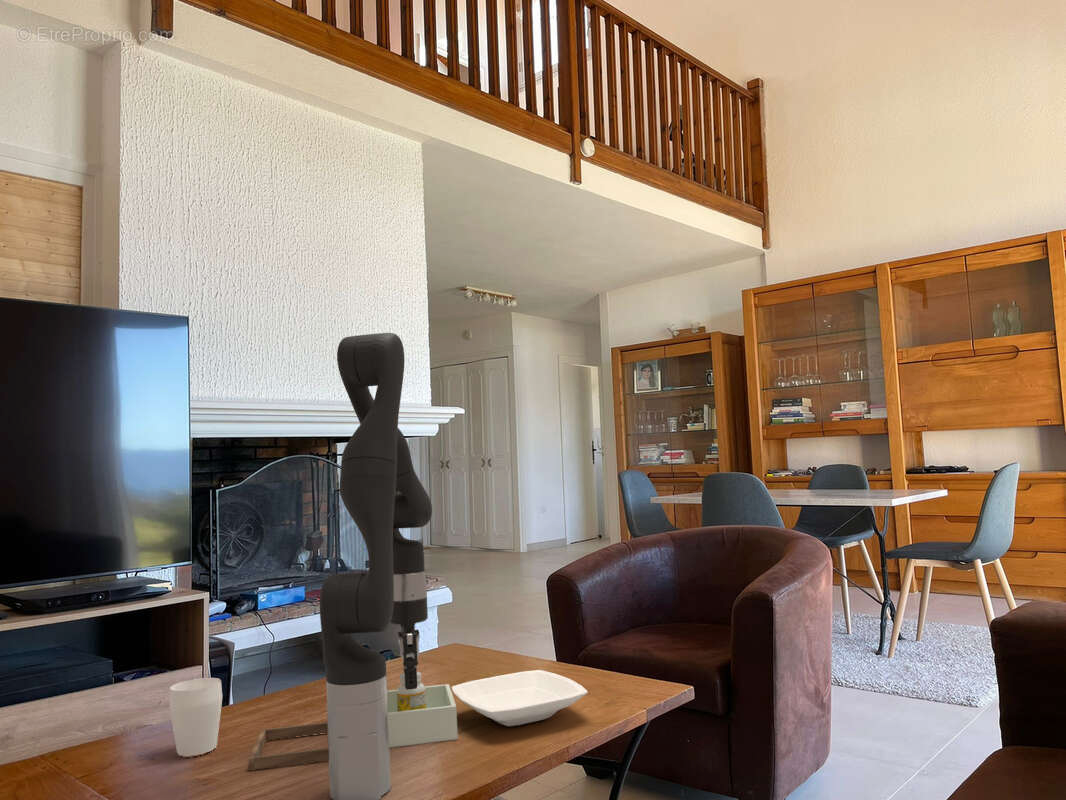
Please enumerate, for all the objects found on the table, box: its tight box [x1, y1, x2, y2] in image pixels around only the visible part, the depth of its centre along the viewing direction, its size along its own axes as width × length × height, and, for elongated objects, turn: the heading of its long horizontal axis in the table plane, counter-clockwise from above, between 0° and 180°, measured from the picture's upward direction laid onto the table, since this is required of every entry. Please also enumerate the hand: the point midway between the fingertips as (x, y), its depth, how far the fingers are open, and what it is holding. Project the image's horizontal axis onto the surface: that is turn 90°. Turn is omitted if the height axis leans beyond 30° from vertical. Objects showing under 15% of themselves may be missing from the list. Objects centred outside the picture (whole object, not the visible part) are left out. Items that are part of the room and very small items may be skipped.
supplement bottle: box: [396, 671, 426, 712], centre depth 149 cm, size 5×5×10 cm
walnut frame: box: [248, 721, 329, 771], centre depth 142 cm, size 16×16×2 cm
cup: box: [168, 677, 223, 756], centre depth 144 cm, size 9×9×12 cm
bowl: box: [451, 669, 589, 727], centre depth 153 cm, size 22×23×6 cm
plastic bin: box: [387, 683, 459, 749], centre depth 149 cm, size 16×16×6 cm
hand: (410, 683), depth 149 cm, fingers open, 8 cm apart
